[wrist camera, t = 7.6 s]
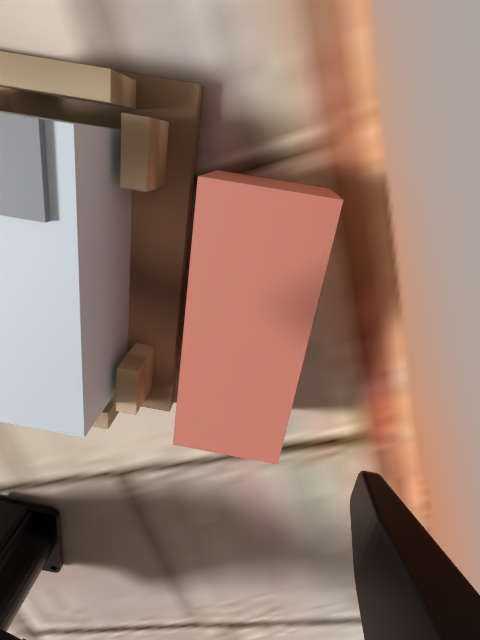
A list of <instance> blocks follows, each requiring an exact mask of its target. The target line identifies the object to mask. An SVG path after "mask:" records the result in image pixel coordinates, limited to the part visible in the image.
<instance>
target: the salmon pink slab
mask: <svg viewBox="0 0 480 640" xmlns="http://www.w3.org/2000/svg"><path fill="white" fill-rule="evenodd" d="M342 204H343V199H342V198H341V197H339V196H338V195H337V194H336V193H335V192H334V191H332V190H331V189H330V188H325V187H319V186H313V185H307V184H300V183H294V182H288V181H282V180H276V179H270V178H264V177H257V176H251V175H245V174H239V173H233V172H227V171H221V170H216V171H213V172H210V173H206V174H203V175H200V176H198V180H197V191H196V202H195V212H194V223H193V234H192V245H191V256H190V266H189V277H188V288H187V299H186V309H185V320H184V331H183V342H182V352H181V363H180V374H179V385H178V395H177V406H176V417H175V428H174V438H173V445H178V446H183V447H189V448H194V449H199V450H204V451H210V452H215V453H220V454H226V455H231V456H236V457H241V458H247V459H252V460H257V461H263V462H268V463H273V464H278V461H279V457H280V453H281V449H282V445H283V441H284V437H285V433H286V429H287V425H288V421H289V417H290V413H291V409H292V405H293V401H294V397H295V393H296V389H297V385H298V381H299V377H300V373H301V369H302V365H303V361H304V357H305V353H306V349H307V345H308V341H309V337H310V333H311V329H312V325H313V321H314V317H315V313H316V309H317V305H318V301H319V296H320V292H321V288H322V284H323V280H324V276H325V272H326V268H327V264H328V260H329V256H330V252H331V248H332V244H333V240H334V236H335V232H336V228H337V224H338V220H339V216H340V212H341V208H342Z"/></svg>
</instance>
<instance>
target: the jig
mask: <svg viewBox="0 0 480 640" xmlns="http://www.w3.org/2000/svg"><path fill="white" fill-rule="evenodd" d="M202 94H203V86H202V85H200V84H198V83H192V82H186V81H180V80H174V79H167V78H161V77H155V76H149V75H143V74H136V73H130V72H124V71H118V70H112V69H108V68H102V67H96V66H90V65H84V64H77V63H71V62H65V61H59V60H53V59H47V58H40V57H34V56H28V55H22V54H16V53H9V52H3V51H0V111H7V112H15V113H21V114H28V115H34V116H40V117H46V118H53V119H59V120H65V121H72V122H78V123H84V124H91V125H97V126H103V127H110V128H116V129H121V166H120V187H121V188H127V189H132V210H131V251H130V292H129V334H128V354H127V355H126V356H125V358H124V359H123V360H122V362H121V363H120V364H119V365H118V367H117V385H116V392H115V394H114V395H113V397H112V398H111V399H110V401H109V402H108V404H107V405H106V407H105V408H104V410H103V411H102V413H101V414H100V415H99V417H98V418H97V420H96V421H95V423H94V424H93V427H98V428H103V429H108V428H109V427H110V425H111V424H112V422H113V420H114V419H115V417H116V416H117V414H118V412H124V413H129V414H135V415H136V414H137V412H138V410H139V408H140V407H141V406H142V407H148V408H153V409H158V410H164V411H169V412H170V409H171V407H172V405H173V400H174V389H175V379H176V368H177V358H178V347H179V336H180V326H181V315H182V305H183V294H184V284H185V273H186V263H187V252H188V241H189V231H190V220H191V210H192V199H193V189H194V178H195V168H196V157H197V146H198V136H199V125H200V115H201V104H202Z"/></svg>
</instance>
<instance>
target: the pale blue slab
mask: <svg viewBox="0 0 480 640" xmlns="http://www.w3.org/2000/svg"><path fill="white" fill-rule="evenodd" d="M120 166H121V129H116V128H110V127H103V126H97V125H91V124H84V123H78V122H72V121H65V120H59V119H53V118H46V117H40V116H34V115H28V114H21V113H15V112H7V111H0V422H4V423H9V424H15V425H20V426H25V427H31V428H36V429H42V430H47V431H52V432H58V433H63V434H68V435H74V436H79V437H85V436H86V434H87V433H88V431H89V430H90V428H91V427H92V426H93V424H94V423H95V421H96V420H97V418H98V417H99V415H100V414H101V413H102V411H103V410H104V408H105V407H106V405H107V404H108V402H109V401H110V399H111V398H112V397H113V395H114V394H115V392H116V385H117V367H118V365H119V364H120V363H121V362H122V360H123V359H124V358H125V356H126V355H127V354H128V334H129V292H130V251H131V210H132V189H127V188H121V187H120Z"/></svg>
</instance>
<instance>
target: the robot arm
mask: <svg viewBox="0 0 480 640" xmlns="http://www.w3.org/2000/svg"><path fill="white" fill-rule="evenodd" d="M350 515H351V531H352V547H353V564H354V577H355V584H356V591H357V597H358V603H359V609H360V615H361V621H362V627H363V633H364V639H365V640H480V595H479V594H478V593H477V591H476V590H475V589H474V588H473V586H472V585H471V584H470V583H469V582H468V580H467V579H466V578H465V577H464V576H463V574H462V573H461V572H460V571H459V570H458V568H457V567H456V566H455V565H454V564H453V562H452V561H451V560H450V559H449V557H448V556H447V555H446V554H445V553H444V551H443V550H442V549H441V548H440V547H439V545H438V544H437V543H436V542H435V541H434V539H433V538H432V537H431V536H430V534H429V533H428V532H427V531H426V530H425V528H424V527H423V526H422V525H421V524H420V522H419V521H418V520H417V519H416V518H415V516H414V515H413V514H412V513H411V511H410V510H409V509H408V508H407V507H406V505H405V504H404V503H403V502H402V501H401V499H400V498H399V497H398V496H397V495H396V493H395V492H394V491H393V490H392V488H391V487H390V486H389V485H388V484H387V482H386V481H385V480H384V479H383V478H382V476H381V475H379V474H378V473H373V472H368V471H361V472H360V473H359V474H358V477H357V480H356V483H355V486H354V489H353V491H352V494H351V499H350ZM62 566H63V559H62V544H61V529H60V515H59V512H58V511H57V510H55V509H52V508H47V507H42V506H37V505H32V504H27V503H22V502H17V501H12V500H6V499H1V498H0V640H21V639H19V638H17V637H15V636H14V635H12V634H10V633H8V632H6V631H7V630H8V628H9V626H10V624H11V623H12V621H13V619H14V617H15V616H16V614H17V612H18V610H19V609H20V607H21V605H22V603H23V602H24V600H25V598H26V596H27V595H28V593H29V591H30V589H31V588H32V586H33V584H34V582H35V581H36V579H37V577H38V575H39V574H40V572H41V570H45V571H50V572H56V573H57V572H59V571H60V570H61V568H62ZM22 640H26V639H22Z"/></svg>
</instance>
